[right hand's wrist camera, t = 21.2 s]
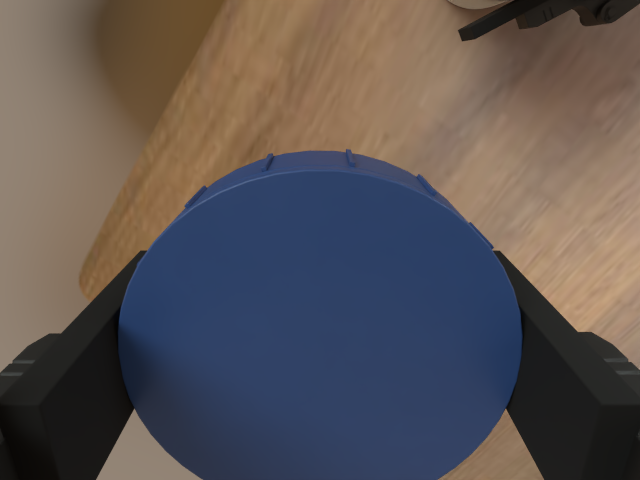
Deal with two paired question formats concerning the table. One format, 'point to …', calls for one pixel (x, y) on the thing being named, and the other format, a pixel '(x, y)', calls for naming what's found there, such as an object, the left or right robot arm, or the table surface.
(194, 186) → the table surface
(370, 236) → the lid
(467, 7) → the jar
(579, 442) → the right robot arm
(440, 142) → the table surface
